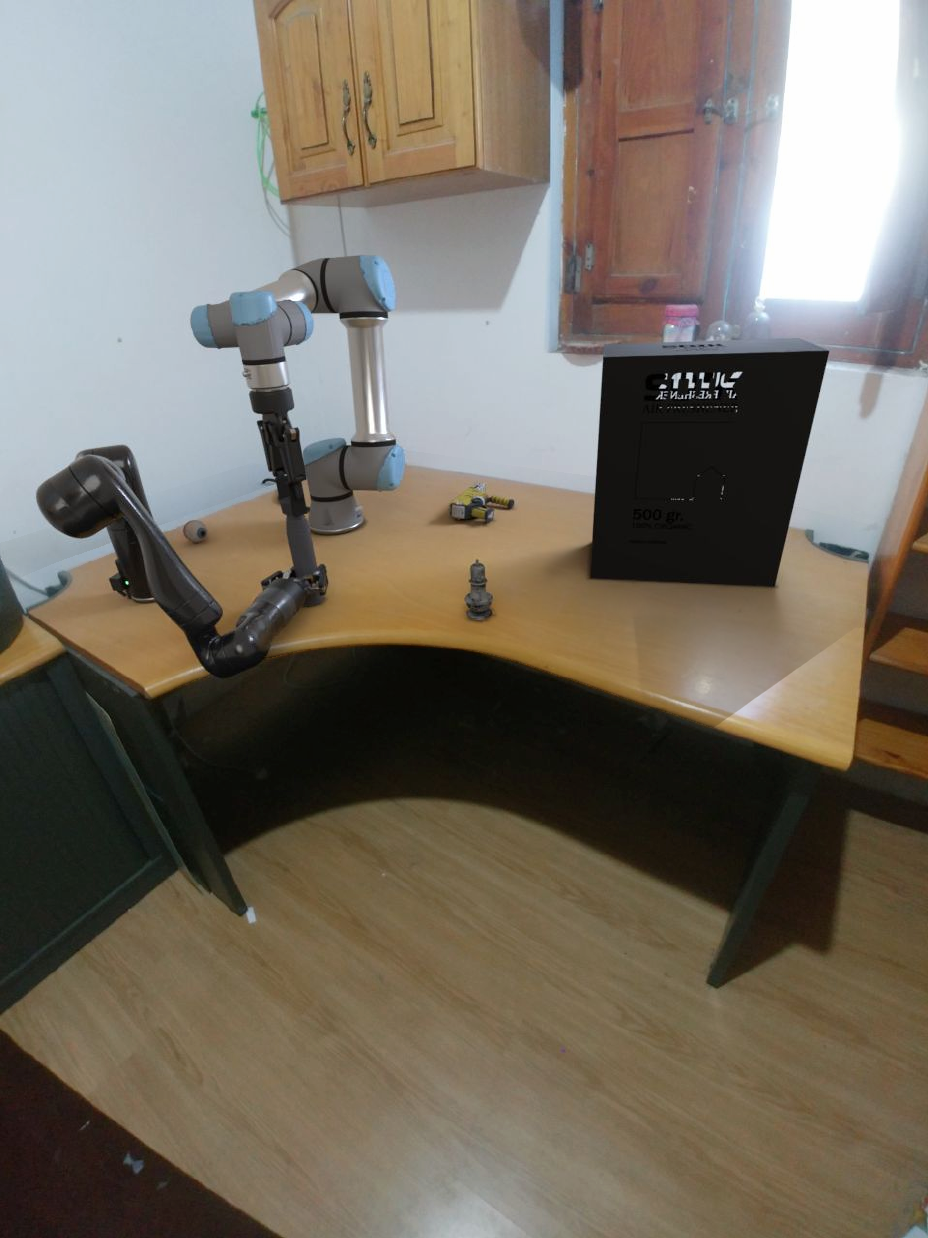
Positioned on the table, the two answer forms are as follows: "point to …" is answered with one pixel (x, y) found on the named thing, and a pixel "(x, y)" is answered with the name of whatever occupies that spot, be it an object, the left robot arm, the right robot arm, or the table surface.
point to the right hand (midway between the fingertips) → (294, 511)
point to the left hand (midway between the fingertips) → (311, 567)
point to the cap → (286, 506)
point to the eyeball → (195, 531)
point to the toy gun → (476, 504)
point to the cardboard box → (701, 458)
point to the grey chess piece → (478, 594)
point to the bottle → (302, 551)
